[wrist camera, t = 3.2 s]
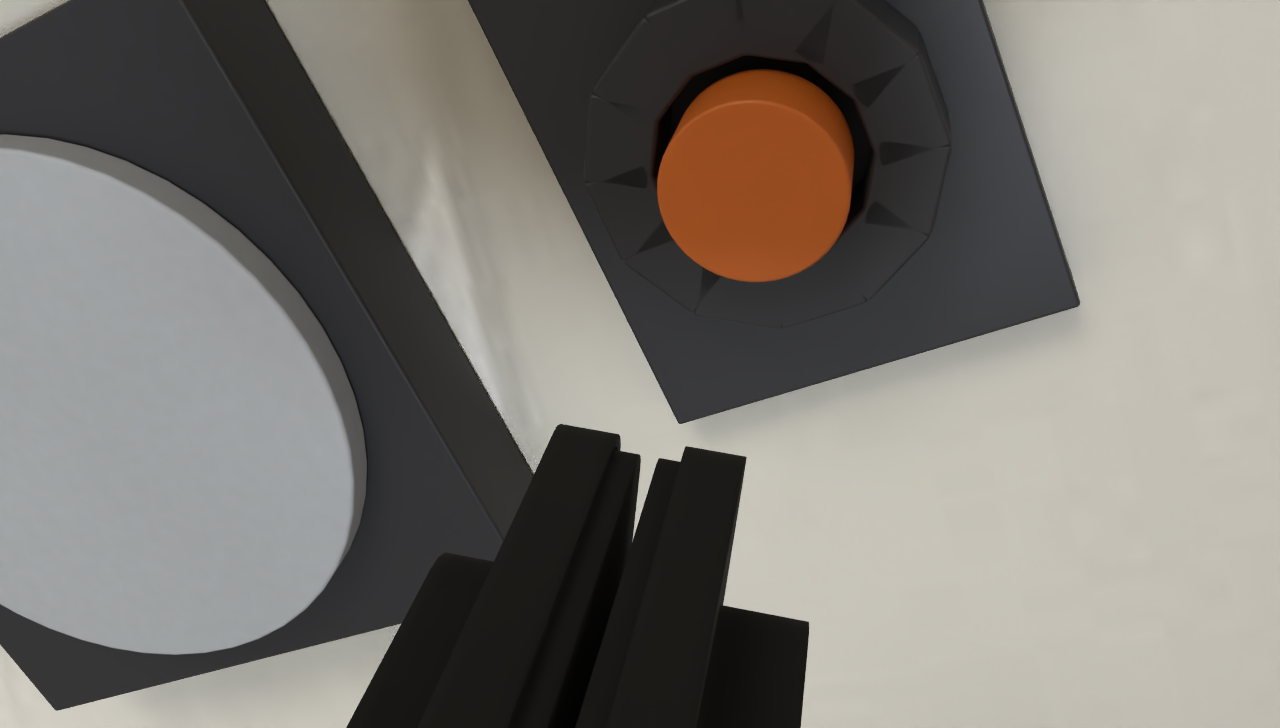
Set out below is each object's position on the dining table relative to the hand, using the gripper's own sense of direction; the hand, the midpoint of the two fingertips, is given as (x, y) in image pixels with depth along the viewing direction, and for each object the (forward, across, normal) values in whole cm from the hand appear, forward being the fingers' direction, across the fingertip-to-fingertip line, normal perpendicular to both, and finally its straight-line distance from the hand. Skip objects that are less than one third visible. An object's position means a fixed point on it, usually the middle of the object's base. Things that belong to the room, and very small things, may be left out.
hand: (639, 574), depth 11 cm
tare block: (+13, 0, 0) cm, 13 cm away
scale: (+13, +13, +7) cm, 20 cm away
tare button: (+11, 0, 0) cm, 11 cm away
